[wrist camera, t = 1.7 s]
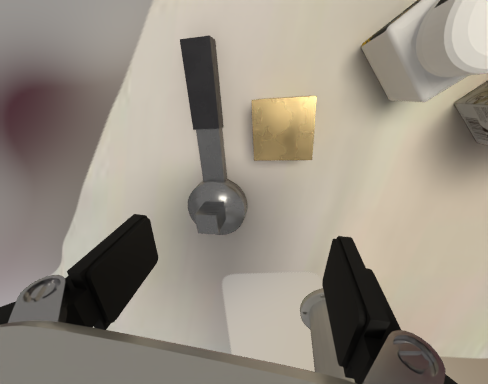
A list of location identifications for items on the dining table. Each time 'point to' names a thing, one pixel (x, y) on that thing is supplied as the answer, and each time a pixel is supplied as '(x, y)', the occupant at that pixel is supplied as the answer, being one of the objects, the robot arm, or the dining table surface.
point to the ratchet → (210, 143)
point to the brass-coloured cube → (283, 128)
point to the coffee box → (476, 112)
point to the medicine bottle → (430, 48)
